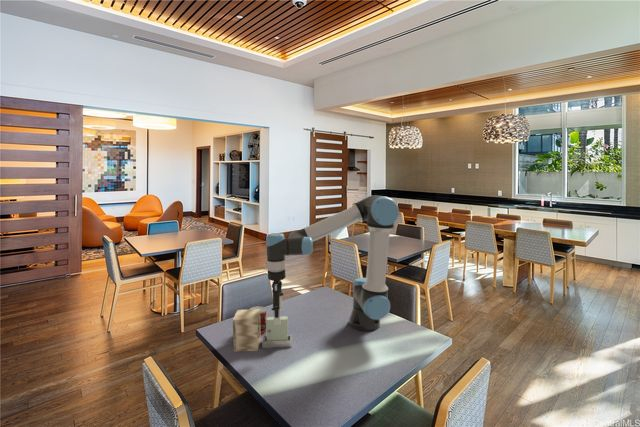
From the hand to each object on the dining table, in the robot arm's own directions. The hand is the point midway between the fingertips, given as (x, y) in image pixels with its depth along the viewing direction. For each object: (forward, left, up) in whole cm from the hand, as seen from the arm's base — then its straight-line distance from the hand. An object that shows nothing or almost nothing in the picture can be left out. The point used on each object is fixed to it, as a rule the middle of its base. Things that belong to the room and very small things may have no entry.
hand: (278, 316), depth 142 cm
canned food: (+10, -12, -13) cm, 20 cm away
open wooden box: (+13, 0, -12) cm, 18 cm away
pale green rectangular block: (0, 0, -13) cm, 13 cm away
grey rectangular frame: (0, 0, -12) cm, 12 cm away
